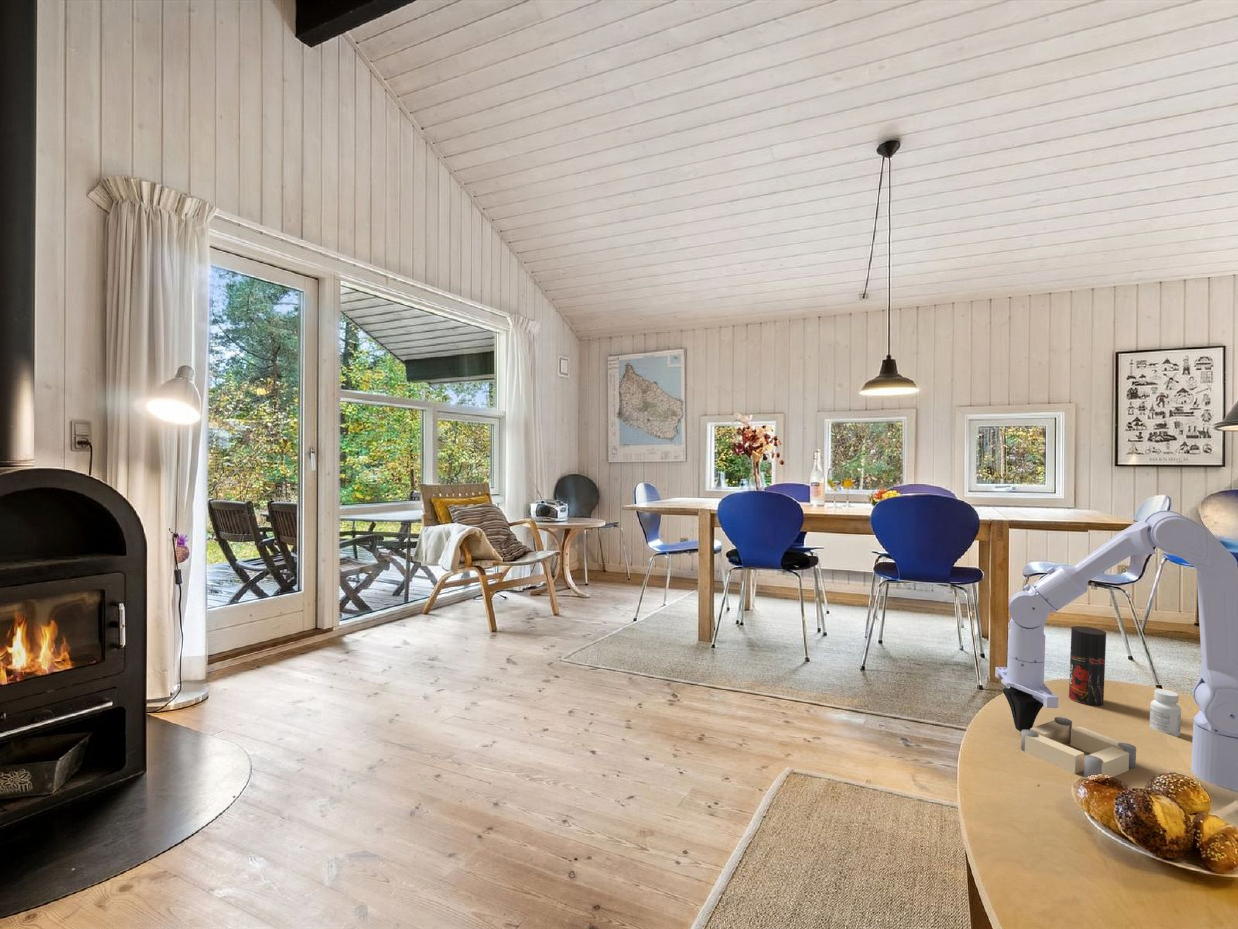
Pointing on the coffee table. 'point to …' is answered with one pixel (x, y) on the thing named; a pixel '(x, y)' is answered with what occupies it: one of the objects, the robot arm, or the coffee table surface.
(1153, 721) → the pill bottle
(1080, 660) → the deodorant
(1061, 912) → the coffee table surface
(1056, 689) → the coffee table surface
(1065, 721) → the beige long rectangular block
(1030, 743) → the hinged beam frame
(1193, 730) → the robot arm
